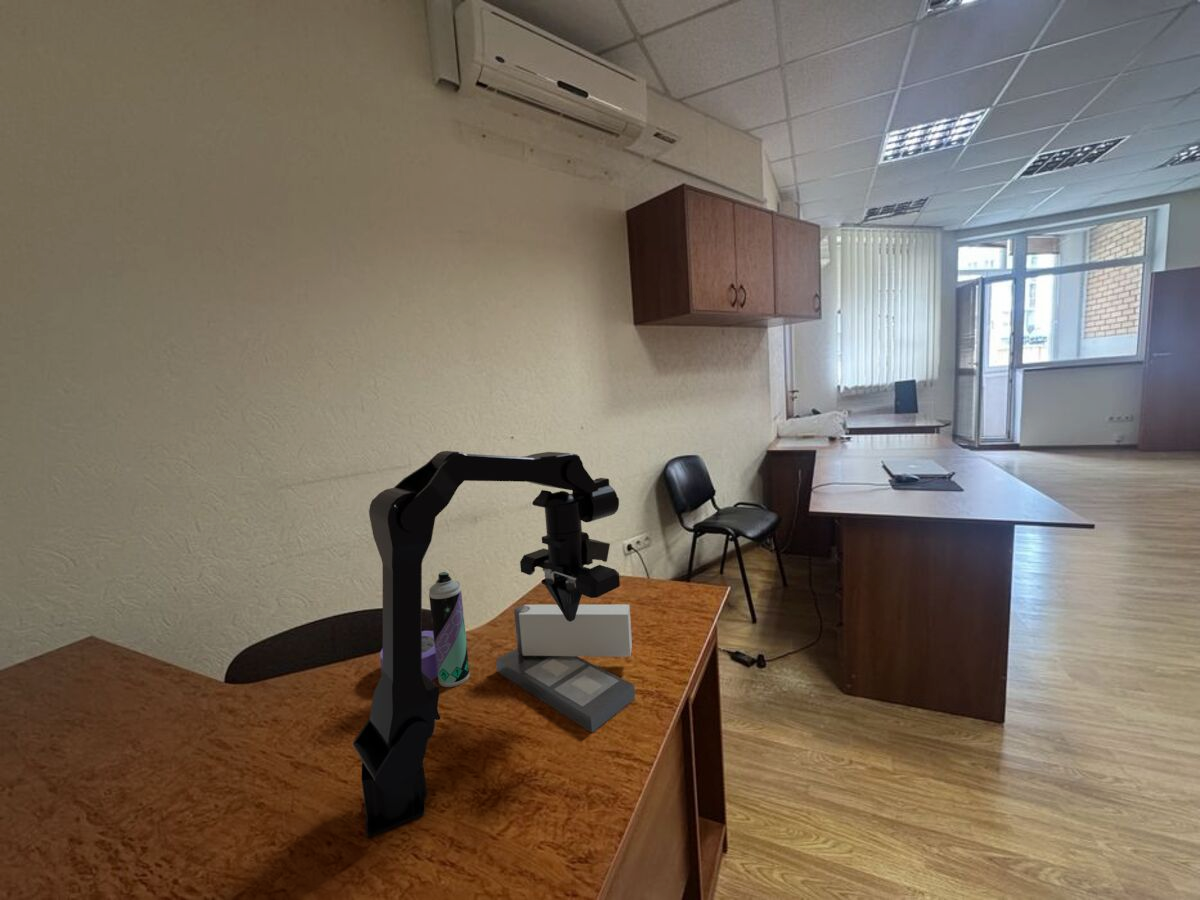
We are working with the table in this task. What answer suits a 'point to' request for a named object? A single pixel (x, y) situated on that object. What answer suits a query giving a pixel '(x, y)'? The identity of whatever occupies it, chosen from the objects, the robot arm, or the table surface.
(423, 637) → the tape roll
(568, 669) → the server tray
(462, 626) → the spray can
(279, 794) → the table surface
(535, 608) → the upright grey slab
